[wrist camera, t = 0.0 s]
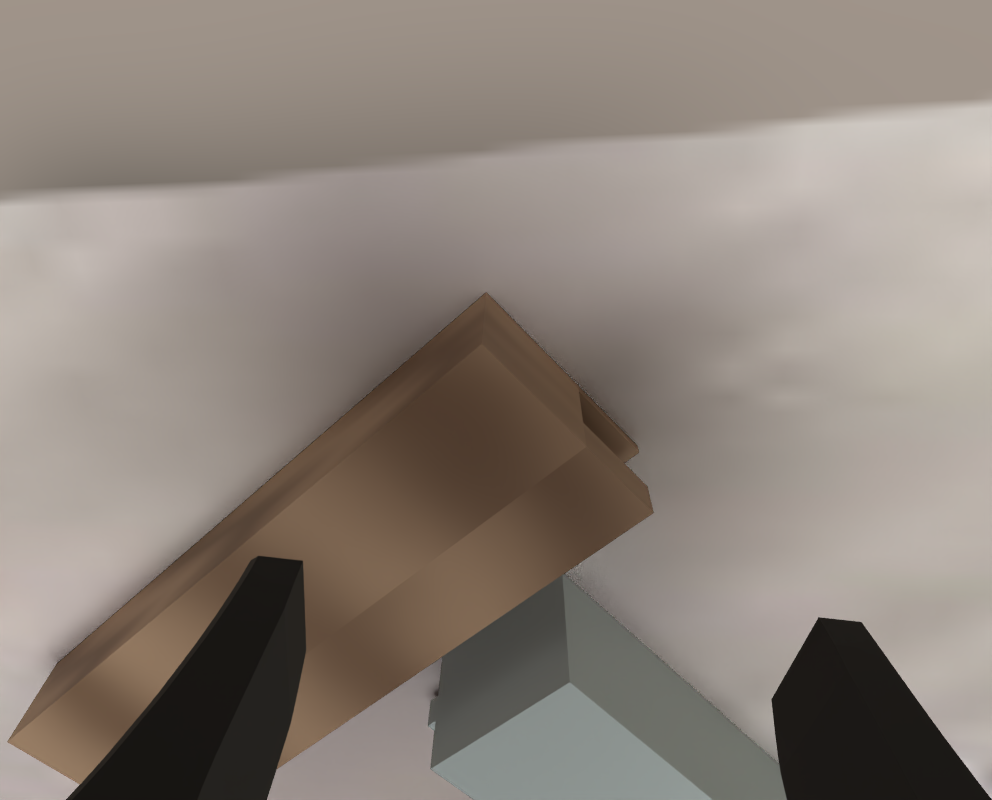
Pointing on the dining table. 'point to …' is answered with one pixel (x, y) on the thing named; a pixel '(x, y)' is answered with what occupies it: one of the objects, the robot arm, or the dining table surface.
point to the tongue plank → (583, 715)
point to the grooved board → (377, 540)
